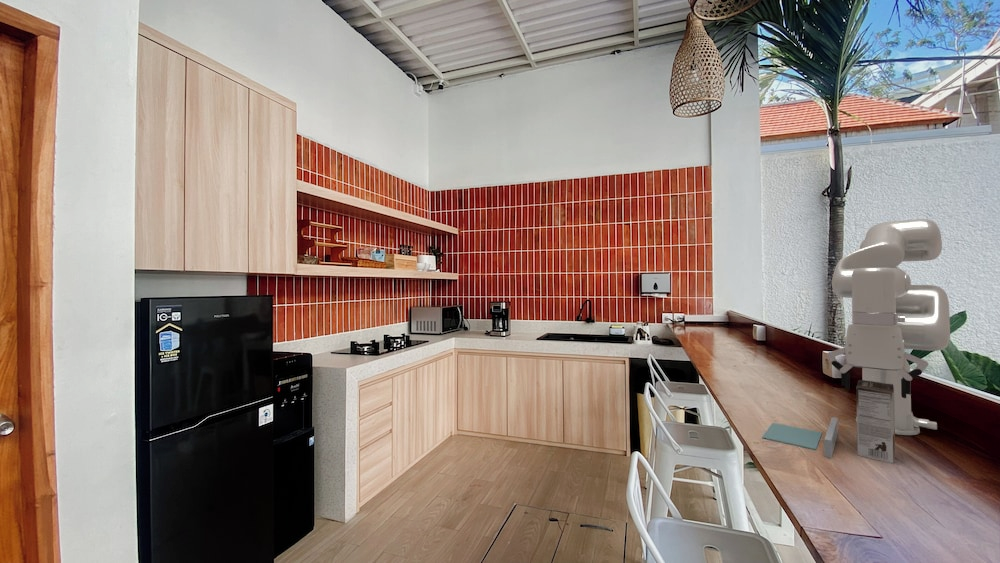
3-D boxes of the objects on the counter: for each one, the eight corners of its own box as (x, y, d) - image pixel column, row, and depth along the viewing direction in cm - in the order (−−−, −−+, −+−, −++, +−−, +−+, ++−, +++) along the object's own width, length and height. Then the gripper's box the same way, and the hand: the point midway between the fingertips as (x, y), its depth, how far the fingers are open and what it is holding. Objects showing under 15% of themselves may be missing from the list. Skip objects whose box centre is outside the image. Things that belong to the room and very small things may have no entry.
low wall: (838, 433, 106) (837, 418, 106) (831, 458, 91) (831, 440, 91) (832, 432, 106) (831, 417, 106) (824, 456, 92) (824, 439, 92)
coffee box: (859, 443, 99) (857, 379, 99) (895, 451, 94) (894, 383, 94) (856, 455, 92) (854, 386, 92) (895, 464, 88) (893, 391, 88)
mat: (821, 433, 105) (821, 432, 105) (815, 450, 95) (815, 448, 95) (772, 423, 113) (772, 422, 113) (762, 438, 103) (762, 437, 103)
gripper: (926, 321, 90) (927, 397, 89) (827, 317, 102) (828, 384, 101) (929, 323, 84) (930, 404, 84) (824, 318, 96) (825, 389, 96)
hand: (874, 393), depth 93 cm, fingers open, 9 cm apart
